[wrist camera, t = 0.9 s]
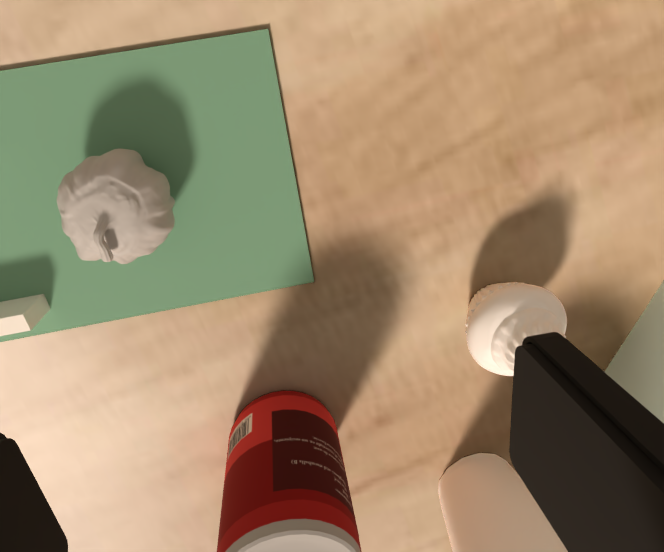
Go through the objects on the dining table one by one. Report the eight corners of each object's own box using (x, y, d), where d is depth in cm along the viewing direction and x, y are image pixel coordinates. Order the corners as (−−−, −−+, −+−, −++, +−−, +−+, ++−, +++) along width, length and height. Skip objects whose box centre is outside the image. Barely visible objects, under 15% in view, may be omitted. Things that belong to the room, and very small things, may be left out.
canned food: (237, 479, 34) (226, 645, 24) (221, 394, 31) (199, 545, 21) (338, 465, 35) (367, 620, 25) (332, 380, 32) (363, 519, 22)
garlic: (162, 263, 27) (139, 304, 22) (64, 227, 25) (17, 262, 20) (199, 169, 25) (183, 192, 20) (95, 123, 23) (52, 136, 19)
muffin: (544, 318, 32) (612, 378, 26) (465, 357, 33) (513, 426, 26) (519, 246, 30) (588, 293, 23) (434, 289, 30) (478, 347, 24)
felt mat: (268, 29, 23) (268, 28, 23) (314, 280, 29) (314, 281, 28) (-287, 116, 21) (-291, 116, 21) (-119, 363, 27) (-121, 365, 27)
